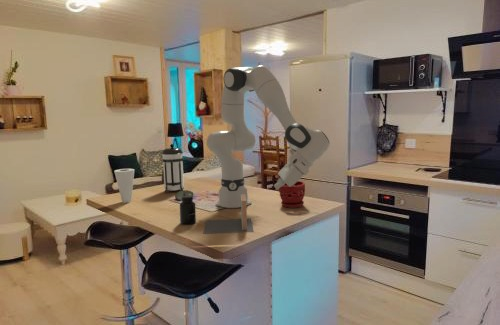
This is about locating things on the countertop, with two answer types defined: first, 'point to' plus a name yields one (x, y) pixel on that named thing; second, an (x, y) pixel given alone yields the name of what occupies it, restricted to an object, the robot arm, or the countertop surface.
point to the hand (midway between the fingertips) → (275, 187)
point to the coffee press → (173, 169)
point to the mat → (226, 226)
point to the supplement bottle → (187, 210)
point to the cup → (125, 183)
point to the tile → (243, 212)
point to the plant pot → (292, 194)
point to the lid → (183, 194)
